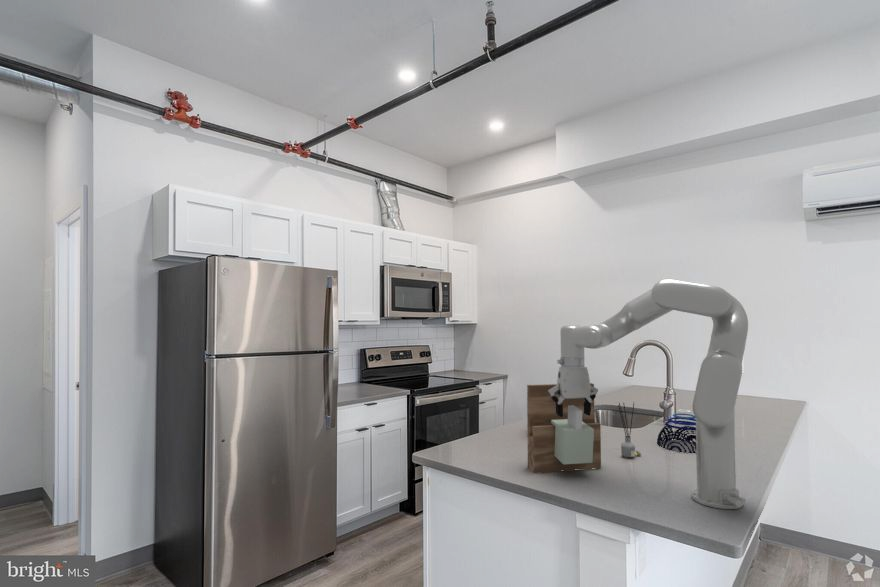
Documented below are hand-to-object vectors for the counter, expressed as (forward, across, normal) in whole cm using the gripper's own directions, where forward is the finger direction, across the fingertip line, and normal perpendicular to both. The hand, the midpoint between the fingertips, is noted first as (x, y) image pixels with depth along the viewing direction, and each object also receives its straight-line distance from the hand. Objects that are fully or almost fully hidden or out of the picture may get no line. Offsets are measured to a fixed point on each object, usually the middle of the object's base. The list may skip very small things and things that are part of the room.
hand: (573, 415), depth 156 cm
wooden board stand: (+19, 0, +7) cm, 20 cm away
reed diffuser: (+20, +29, +15) cm, 38 cm away
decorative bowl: (+20, +59, +23) cm, 66 cm away
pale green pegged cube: (+14, 0, +2) cm, 14 cm away
